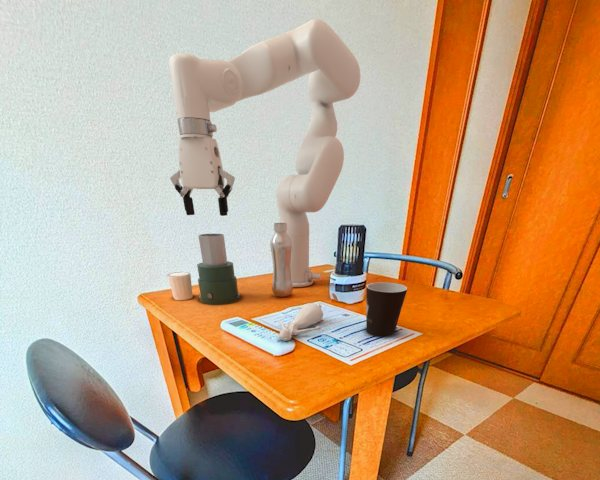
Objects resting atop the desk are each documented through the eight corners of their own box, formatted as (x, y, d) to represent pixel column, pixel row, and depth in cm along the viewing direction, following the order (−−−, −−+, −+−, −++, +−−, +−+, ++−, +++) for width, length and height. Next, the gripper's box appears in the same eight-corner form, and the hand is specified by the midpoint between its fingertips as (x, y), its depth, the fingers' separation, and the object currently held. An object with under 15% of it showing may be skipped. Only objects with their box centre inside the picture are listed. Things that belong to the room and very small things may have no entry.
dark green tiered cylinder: (246, 294, 99) (242, 260, 94) (230, 305, 89) (225, 268, 84) (211, 292, 102) (206, 259, 96) (192, 303, 92) (185, 267, 86)
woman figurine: (338, 303, 75) (305, 332, 63) (337, 320, 78) (306, 351, 65) (295, 297, 80) (257, 323, 67) (296, 314, 83) (259, 342, 70)
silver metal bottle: (268, 297, 96) (264, 223, 85) (278, 292, 101) (275, 222, 90) (287, 299, 94) (285, 224, 83) (296, 294, 99) (295, 222, 88)
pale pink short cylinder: (180, 302, 93) (175, 277, 89) (167, 298, 96) (161, 274, 92) (199, 296, 97) (195, 273, 94) (186, 293, 101) (181, 270, 97)
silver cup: (230, 262, 92) (227, 233, 88) (221, 266, 87) (216, 236, 83) (209, 261, 93) (205, 233, 89) (198, 265, 88) (193, 235, 84)
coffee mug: (392, 341, 67) (400, 294, 62) (355, 333, 71) (360, 288, 66) (407, 325, 75) (416, 282, 70) (374, 319, 79) (379, 278, 74)
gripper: (235, 133, 75) (242, 215, 85) (171, 135, 79) (185, 214, 88) (222, 127, 69) (231, 216, 79) (153, 130, 72) (170, 215, 82)
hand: (207, 215), depth 83 cm, fingers open, 9 cm apart
